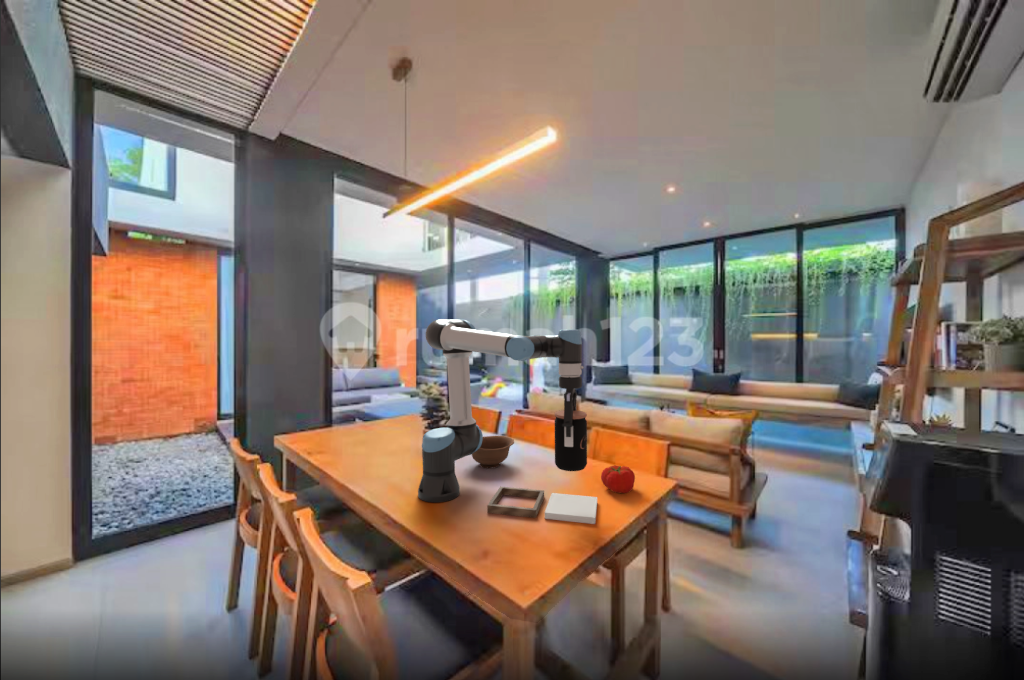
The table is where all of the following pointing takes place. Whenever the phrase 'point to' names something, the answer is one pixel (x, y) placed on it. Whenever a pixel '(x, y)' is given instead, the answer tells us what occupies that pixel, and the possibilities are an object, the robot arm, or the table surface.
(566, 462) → the coffee jar
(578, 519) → the tile
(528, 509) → the holder
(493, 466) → the bowl
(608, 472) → the tomato
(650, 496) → the table surface
